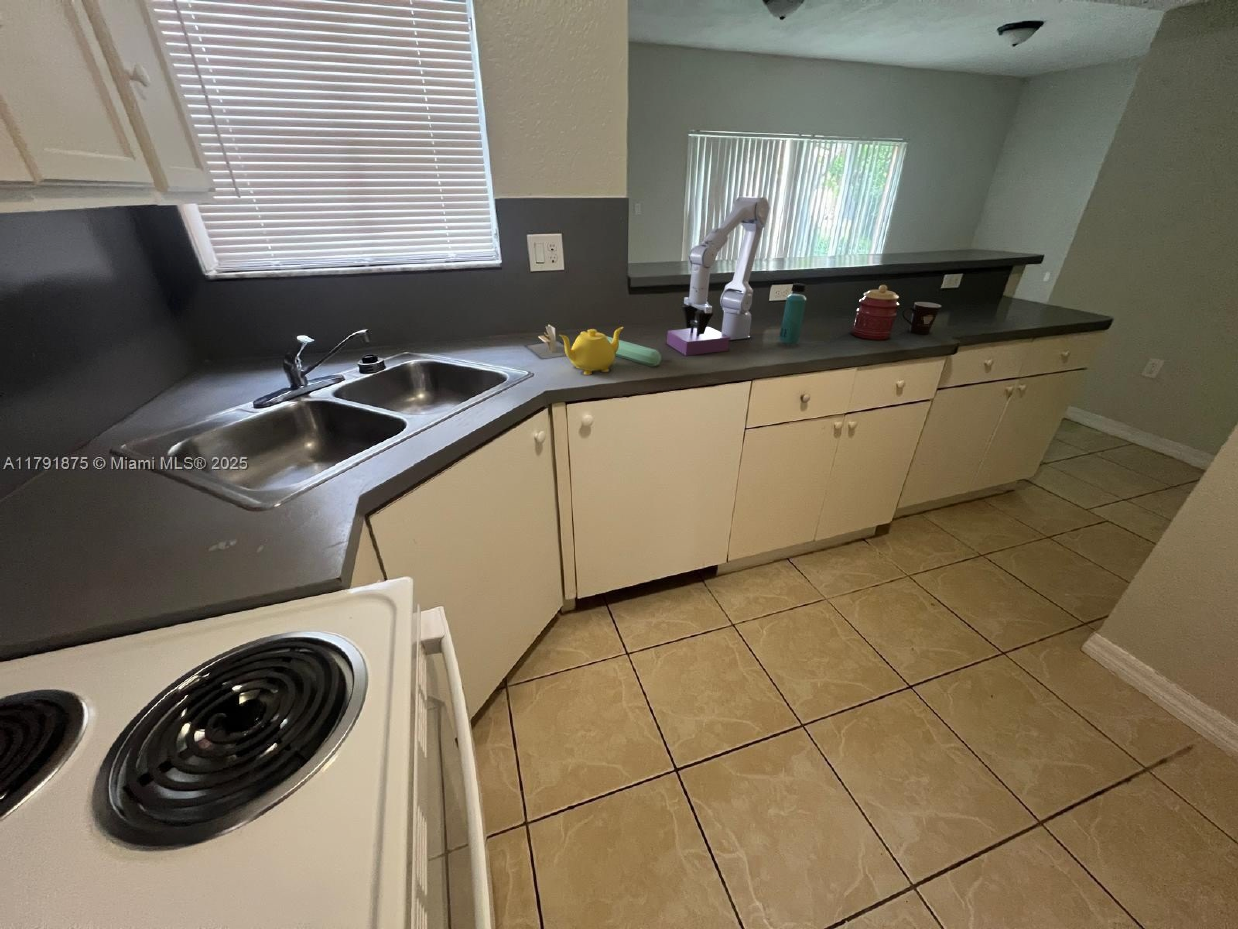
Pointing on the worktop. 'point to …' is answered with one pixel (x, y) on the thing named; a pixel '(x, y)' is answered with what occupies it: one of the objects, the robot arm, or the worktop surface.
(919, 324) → the coffee mug
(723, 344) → the purple box base
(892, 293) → the kitchen canister
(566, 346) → the teapot
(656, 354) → the container
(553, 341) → the architectural model
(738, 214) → the robot arm
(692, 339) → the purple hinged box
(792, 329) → the beverage bottle
